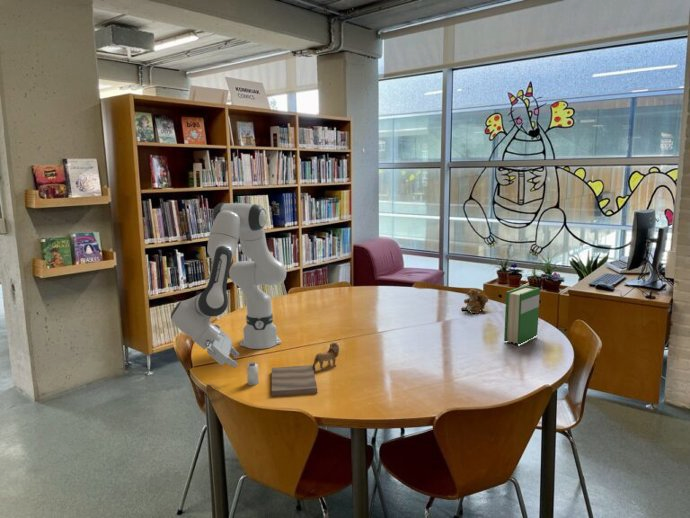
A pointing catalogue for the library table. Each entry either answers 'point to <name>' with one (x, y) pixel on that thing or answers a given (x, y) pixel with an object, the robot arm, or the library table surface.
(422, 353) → the library table surface
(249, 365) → the connector casing
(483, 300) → the stuffed squirrel
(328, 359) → the lion figurine
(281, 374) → the display block
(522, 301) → the hardback book
